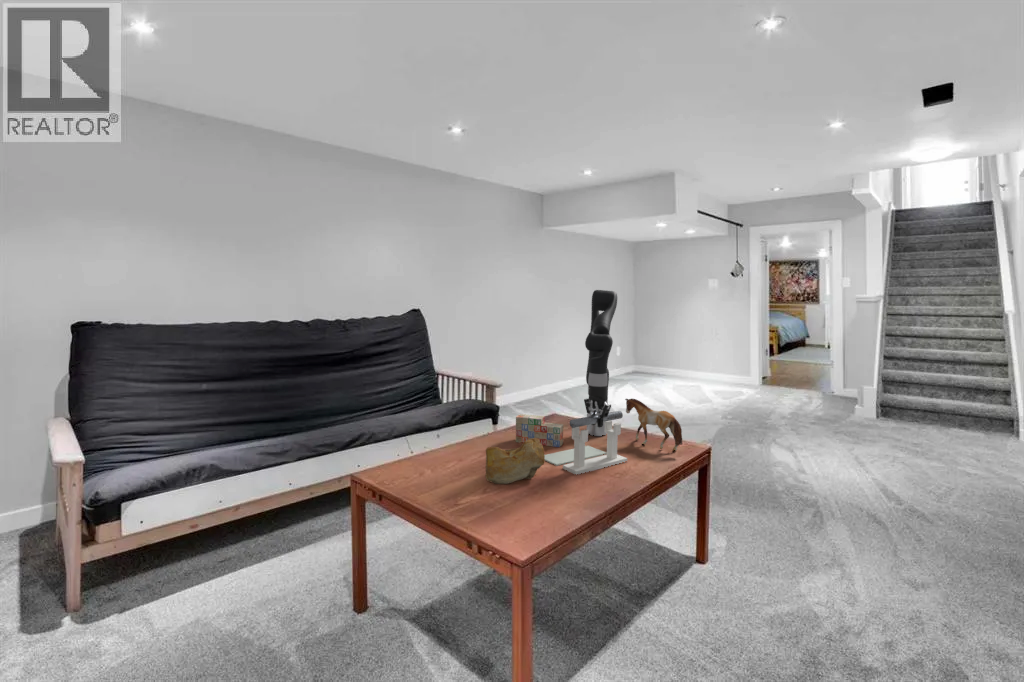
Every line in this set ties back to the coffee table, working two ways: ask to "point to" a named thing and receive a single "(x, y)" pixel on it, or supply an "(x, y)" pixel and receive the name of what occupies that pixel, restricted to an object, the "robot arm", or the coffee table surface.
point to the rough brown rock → (514, 462)
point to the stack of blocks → (538, 430)
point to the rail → (595, 419)
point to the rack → (597, 462)
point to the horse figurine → (655, 421)
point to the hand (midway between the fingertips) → (596, 425)
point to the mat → (571, 455)
